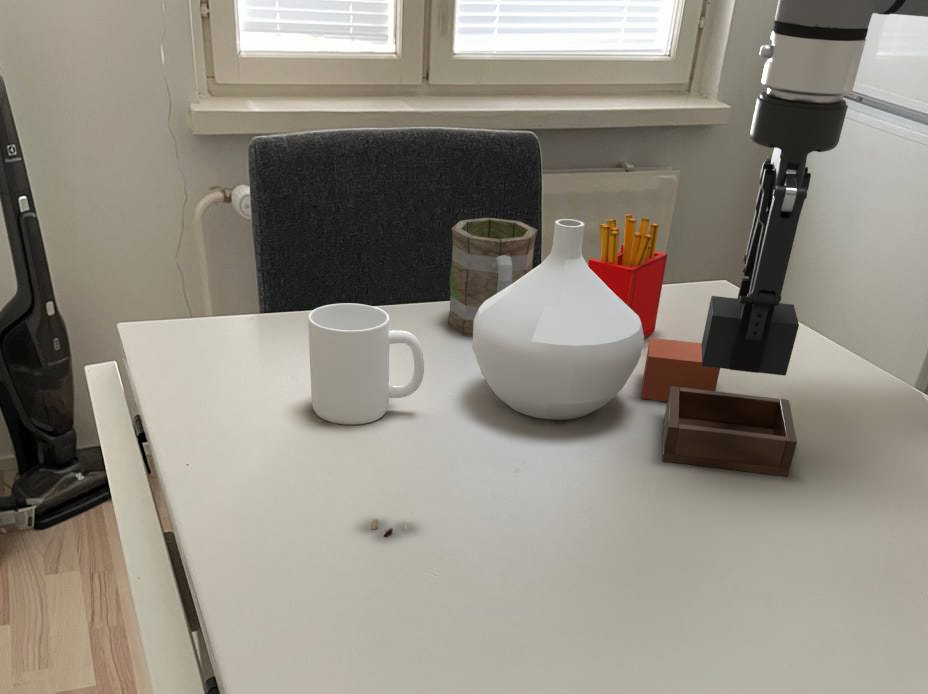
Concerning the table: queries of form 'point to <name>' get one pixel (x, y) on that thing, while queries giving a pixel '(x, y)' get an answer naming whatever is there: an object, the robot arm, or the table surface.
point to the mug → (485, 264)
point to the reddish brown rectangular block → (675, 369)
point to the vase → (557, 336)
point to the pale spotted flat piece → (374, 525)
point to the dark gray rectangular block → (725, 328)
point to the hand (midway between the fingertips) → (742, 357)
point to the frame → (729, 431)
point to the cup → (355, 362)
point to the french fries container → (632, 268)
